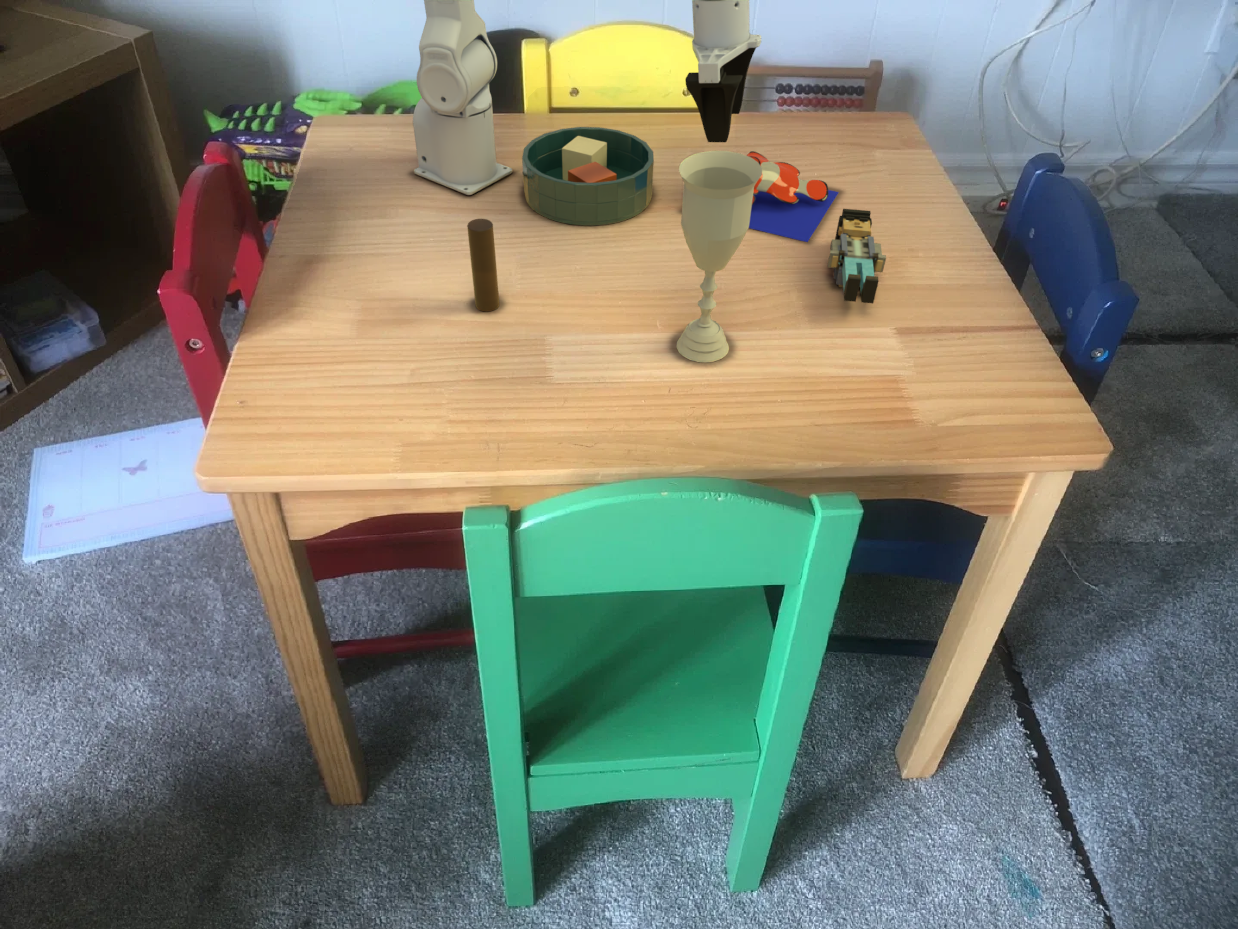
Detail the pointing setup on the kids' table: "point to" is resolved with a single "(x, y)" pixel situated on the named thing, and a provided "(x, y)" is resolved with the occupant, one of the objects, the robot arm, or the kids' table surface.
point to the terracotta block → (591, 174)
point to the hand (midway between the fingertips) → (724, 126)
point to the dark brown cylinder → (483, 264)
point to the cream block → (583, 154)
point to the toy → (856, 256)
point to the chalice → (714, 234)
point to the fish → (787, 201)
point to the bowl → (588, 199)
